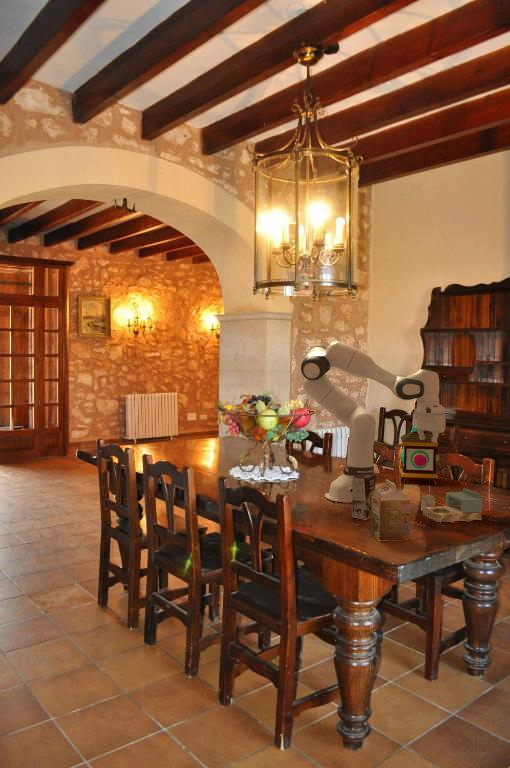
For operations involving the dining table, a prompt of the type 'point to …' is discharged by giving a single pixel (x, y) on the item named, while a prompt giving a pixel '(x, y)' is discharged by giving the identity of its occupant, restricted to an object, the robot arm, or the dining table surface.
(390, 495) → the milk carton
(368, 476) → the coffee box
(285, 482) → the dining table surface
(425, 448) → the decorative lantern
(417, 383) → the robot arm
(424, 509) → the housing base
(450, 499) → the cover
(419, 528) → the dining table surface
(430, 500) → the jaw block
